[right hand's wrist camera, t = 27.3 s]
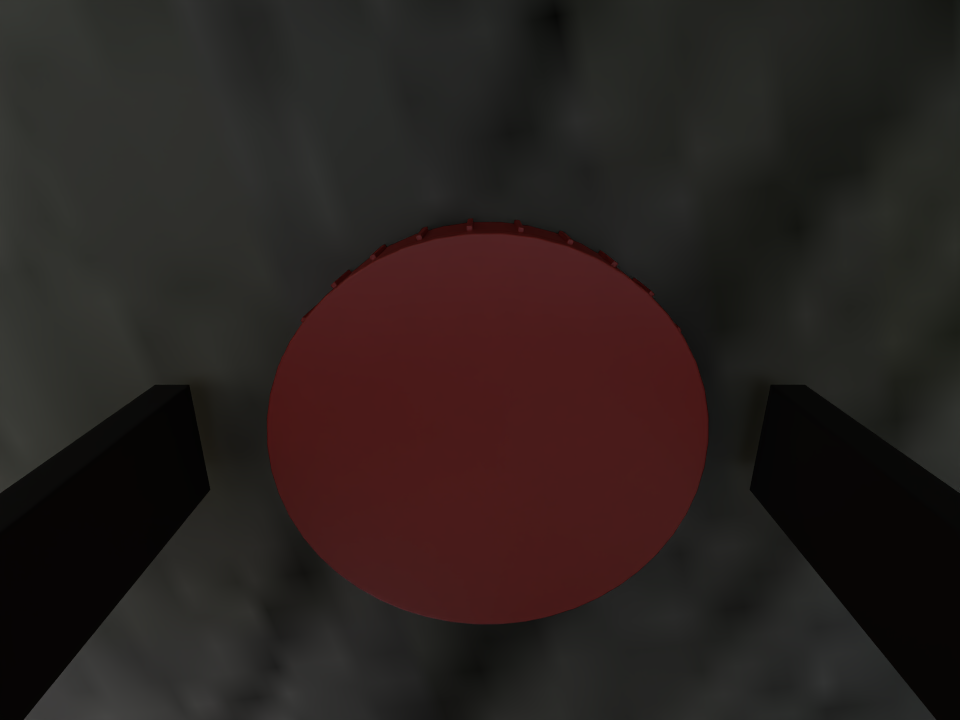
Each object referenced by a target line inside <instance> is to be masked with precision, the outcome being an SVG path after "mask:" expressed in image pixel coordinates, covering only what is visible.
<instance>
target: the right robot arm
mask: <svg viewBox="0 0 960 720" xmlns="http://www.w3.org/2000/svg"><path fill="white" fill-rule="evenodd" d="M209 491H210V486H209V481H208V476H207V471H206V466H205V461H204V456H203V451H202V446H201V441H200V436H199V431H198V426H197V421H196V416H195V411H194V406H193V401H192V396H191V391H190V386H189V385H154V386H153V387H151V388H150V389H149V390H147V391H146V392H144V393H143V394H141V395H140V396H139V397H137V398H136V399H134V400H133V401H131V402H130V403H129V404H127V405H126V406H124V407H123V408H121V409H120V410H119V411H117V412H116V413H114V414H113V415H111V416H110V417H109V418H107V419H106V420H104V421H103V422H101V423H100V424H99V425H97V426H96V427H94V428H93V429H91V430H90V431H89V432H87V433H86V434H84V435H83V436H81V437H80V438H79V439H77V440H76V441H74V442H73V443H72V444H70V445H69V446H67V447H66V448H64V449H63V450H62V451H60V452H59V453H57V454H56V455H54V456H53V457H52V458H50V459H49V460H47V461H46V462H44V463H43V464H42V465H40V466H39V467H37V468H36V469H34V470H33V471H32V472H30V473H29V474H27V475H26V476H24V477H23V478H22V479H20V480H19V481H17V482H16V483H14V484H13V485H12V486H10V487H9V488H7V489H6V490H4V491H3V492H2V493H0V720H24V719H25V717H26V716H27V715H28V714H29V712H30V711H31V710H32V709H33V707H34V706H35V705H36V704H37V703H38V701H39V700H40V699H41V698H42V696H43V695H44V694H45V693H46V691H47V690H48V689H49V688H50V686H51V685H52V684H53V683H54V682H55V680H56V679H57V678H58V677H59V675H60V674H61V673H62V672H63V670H64V669H65V668H66V667H67V666H68V664H69V663H70V662H71V661H72V659H73V658H74V657H75V656H76V654H77V653H78V652H79V651H80V650H81V648H82V647H83V646H84V645H85V643H86V642H87V641H88V640H89V638H90V637H91V636H92V635H93V634H94V632H95V631H96V630H97V629H98V627H99V626H100V625H101V624H102V622H103V621H104V620H105V619H106V617H107V616H108V615H109V614H110V613H111V611H112V610H113V609H114V608H115V606H116V605H117V604H118V603H119V601H120V600H121V599H122V598H123V597H124V595H125V594H126V593H127V592H128V590H129V589H130V588H131V587H132V585H133V584H134V583H135V582H136V581H137V579H138V578H139V577H140V576H141V574H142V573H143V572H144V571H145V569H146V568H147V567H148V566H149V565H150V563H151V562H152V561H153V560H154V558H155V557H156V556H157V555H158V553H159V552H160V551H161V550H162V549H163V547H164V546H165V545H166V544H167V542H168V541H169V540H170V539H171V537H172V536H173V535H174V534H175V532H176V531H177V530H178V529H179V528H180V526H181V525H182V524H183V523H184V521H185V520H186V519H187V518H188V516H189V515H190V514H191V513H192V512H193V510H194V509H195V508H196V507H197V505H198V504H199V503H200V502H201V500H202V499H203V498H204V497H205V496H206V494H207V493H208V492H209ZM750 491H751V492H752V493H753V494H754V496H755V497H756V498H757V499H758V500H759V502H760V503H761V504H762V505H763V507H764V508H765V509H766V510H767V512H768V513H769V514H770V515H771V516H772V518H773V519H774V520H775V521H776V523H777V524H778V525H779V526H780V528H781V529H782V530H783V531H784V532H785V534H786V535H787V536H788V537H789V539H790V540H791V541H792V542H793V544H794V545H795V546H796V547H797V549H798V550H799V551H800V552H801V553H802V555H803V556H804V557H805V558H806V560H807V561H808V562H809V563H810V565H811V566H812V567H813V568H814V569H815V571H816V572H817V573H818V574H819V576H820V577H821V578H822V579H823V581H824V582H825V583H826V584H827V585H828V587H829V588H830V589H831V590H832V592H833V593H834V594H835V595H836V597H837V598H838V599H839V600H840V601H841V603H842V604H843V605H844V606H845V608H846V609H847V610H848V611H849V613H850V614H851V615H852V616H853V618H854V619H855V620H856V621H857V622H858V624H859V625H860V626H861V627H862V629H863V630H864V631H865V632H866V634H867V635H868V636H869V637H870V638H871V640H872V641H873V642H874V643H875V645H876V646H877V647H878V648H879V650H880V651H881V652H882V653H883V654H884V656H885V657H886V658H887V659H888V661H889V662H890V663H891V664H892V666H893V667H894V668H895V669H896V670H897V672H898V673H899V674H900V675H901V677H902V678H903V679H904V680H905V682H906V683H907V684H908V685H909V686H910V688H911V689H912V690H913V691H914V693H915V694H916V695H917V696H918V698H919V699H920V700H921V701H922V703H923V704H924V705H925V706H926V707H927V709H928V710H929V711H930V712H931V714H932V715H933V716H934V717H935V719H936V720H960V493H958V492H957V491H956V490H954V489H953V488H951V487H950V486H948V485H947V484H946V483H944V482H943V481H941V480H940V479H938V478H937V477H936V476H934V475H933V474H931V473H930V472H928V471H927V470H926V469H924V468H923V467H921V466H920V465H918V464H917V463H916V462H914V461H913V460H911V459H910V458H908V457H907V456H906V455H904V454H903V453H901V452H900V451H898V450H897V449H896V448H894V447H893V446H891V445H890V444H888V443H887V442H886V441H884V440H883V439H881V438H880V437H879V436H877V435H876V434H874V433H873V432H871V431H870V430H869V429H867V428H866V427H864V426H863V425H861V424H860V423H859V422H857V421H856V420H854V419H853V418H851V417H850V416H849V415H847V414H846V413H844V412H843V411H841V410H840V409H839V408H837V407H836V406H834V405H833V404H831V403H830V402H829V401H827V400H826V399H824V398H823V397H821V396H820V395H819V394H817V393H816V392H814V391H813V390H811V389H810V388H809V387H807V386H806V385H771V386H770V391H769V396H768V401H767V406H766V411H765V416H764V421H763V426H762V431H761V436H760V441H759V446H758V451H757V456H756V461H755V466H754V471H753V476H752V481H751V486H750Z"/></svg>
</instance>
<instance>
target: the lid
mask: <svg viewBox="0 0 960 720" xmlns="http://www.w3.org/2000/svg"><path fill="white" fill-rule="evenodd" d="M617 265H618V263H617V262H615V261H614V260H613V259H612V258H610V257H609V256H608V255H606V254H605V253H604V252H602V251H601V250H600V251H599V253H596V252H594V251H593V250H591V249H589V248H588V247H586V246H584V245H582V244H581V243H578V242H576V241H574V240H572V239H571V238H570V237H569V236H568V235H567V234H566V233H564V232H563V231H559V233H558V234H557V233H554V232H550V231H547V230H543V229H539V228H535V227H531V226H528V225H522V224H521V222H520V221H519V220H515V221H514V224H511V223H503V222H473V219H468V221H467V223H463V224H456V225H449V226H443V227H439V228H436V229H432V230H429V231H428V228H427V227H424V228H422V230H421V231H420V232H419V233H418V234H415V235H413V236H411V237H408V238H406V239H404V240H402V241H399V242H397V243H395V244H392V245H390V246H389V247H387V246H386V245H385V244H384V245H382V246H381V247H380V248H379V249H378V250H376V251H375V252H374V253H373V254H372V255H371V256H370V258H369V259H368V260H366V261H365V262H364V263H363V264H361V265H360V266H359V267H358V268H357V269H355V270H354V271H353V272H351V271H350V270H348V271H347V272H345V273H344V274H343V275H342V276H341V277H340V278H338V279H337V280H336V281H335V282H334V283H333V284H332V285H331V287H332V288H333V289H332V290H331V291H330V292H329V293H328V294H327V295H326V296H325V297H324V298H323V299H322V300H321V301H320V302H319V303H318V304H317V305H316V306H315V307H314V308H313V309H311V310H310V311H309V312H308V313H307V314H306V315H305V316H304V317H303V318H302V319H301V322H302V324H301V325H300V327H299V328H298V330H297V331H296V333H295V335H294V336H293V338H292V339H291V341H290V342H289V344H288V346H287V349H286V351H285V353H284V355H283V356H282V358H281V362H280V364H279V366H278V368H277V372H276V375H275V379H274V382H273V386H272V389H271V392H270V399H269V407H268V414H267V446H268V452H269V458H270V464H271V470H272V474H273V477H274V480H275V483H276V486H277V489H278V492H279V495H280V497H281V499H282V501H283V503H284V506H285V508H286V510H287V512H288V514H289V516H290V518H291V519H292V521H293V522H294V524H295V525H296V527H297V528H298V530H299V531H300V533H301V535H302V536H303V538H304V539H305V540H306V541H307V542H308V543H309V545H310V546H311V547H312V548H313V549H314V550H315V552H316V553H317V554H318V555H319V556H320V557H321V558H322V559H323V560H324V561H325V562H326V563H327V564H328V565H330V566H331V567H332V568H333V569H334V570H335V571H336V572H337V573H338V574H340V575H341V576H343V577H344V578H345V579H347V580H348V581H349V582H351V583H352V584H354V585H355V586H356V587H358V588H360V589H361V590H363V591H365V592H367V593H368V594H370V595H372V596H374V597H376V598H377V599H379V600H381V601H384V602H386V603H388V604H391V605H393V606H395V607H398V608H400V609H402V610H405V611H409V612H412V613H415V614H419V615H422V616H425V617H429V618H434V619H439V620H444V621H450V622H458V623H469V624H506V623H515V622H524V621H530V620H534V619H539V618H544V617H549V616H552V615H556V614H559V613H562V612H565V611H568V610H571V609H574V608H576V607H579V606H581V605H583V604H585V603H588V602H590V601H592V600H594V599H597V598H599V597H600V596H602V595H604V594H606V593H607V592H609V591H611V590H612V589H614V588H616V587H618V586H619V585H621V584H622V583H623V582H625V581H626V580H627V579H629V578H630V577H631V576H633V575H634V574H635V573H637V572H638V571H639V570H640V569H642V568H643V567H644V566H645V565H646V564H647V563H648V562H649V561H650V560H651V559H652V558H653V557H654V556H655V555H656V554H657V553H658V552H659V551H660V550H661V549H662V547H663V546H664V545H665V544H666V543H667V541H668V540H669V539H670V538H671V537H672V535H673V534H674V533H675V531H676V529H677V528H678V526H679V525H680V523H681V522H682V520H683V518H684V517H685V515H686V514H687V512H688V509H689V507H690V505H691V503H692V501H693V499H694V496H695V494H696V492H697V490H698V486H699V483H700V480H701V476H702V473H703V470H704V466H705V460H706V453H707V447H708V409H707V402H706V395H705V389H704V385H703V382H702V379H701V376H700V372H699V369H698V366H697V363H696V361H695V359H694V357H693V355H692V353H691V350H690V348H689V346H688V344H687V342H686V340H685V338H684V337H683V335H682V334H681V329H680V327H678V326H677V325H676V324H675V323H674V322H673V321H672V319H671V318H670V316H669V315H668V314H667V312H666V311H665V310H664V309H663V308H662V307H661V306H660V305H659V304H658V303H657V302H656V301H655V300H654V299H653V298H652V296H654V293H653V292H652V291H651V290H649V289H648V288H647V287H646V286H644V285H643V284H642V283H641V282H639V281H638V280H637V279H635V278H633V279H631V278H629V277H628V276H627V275H626V274H624V273H623V272H622V271H621V270H619V269H618V268H617V267H616V266H617Z"/></svg>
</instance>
